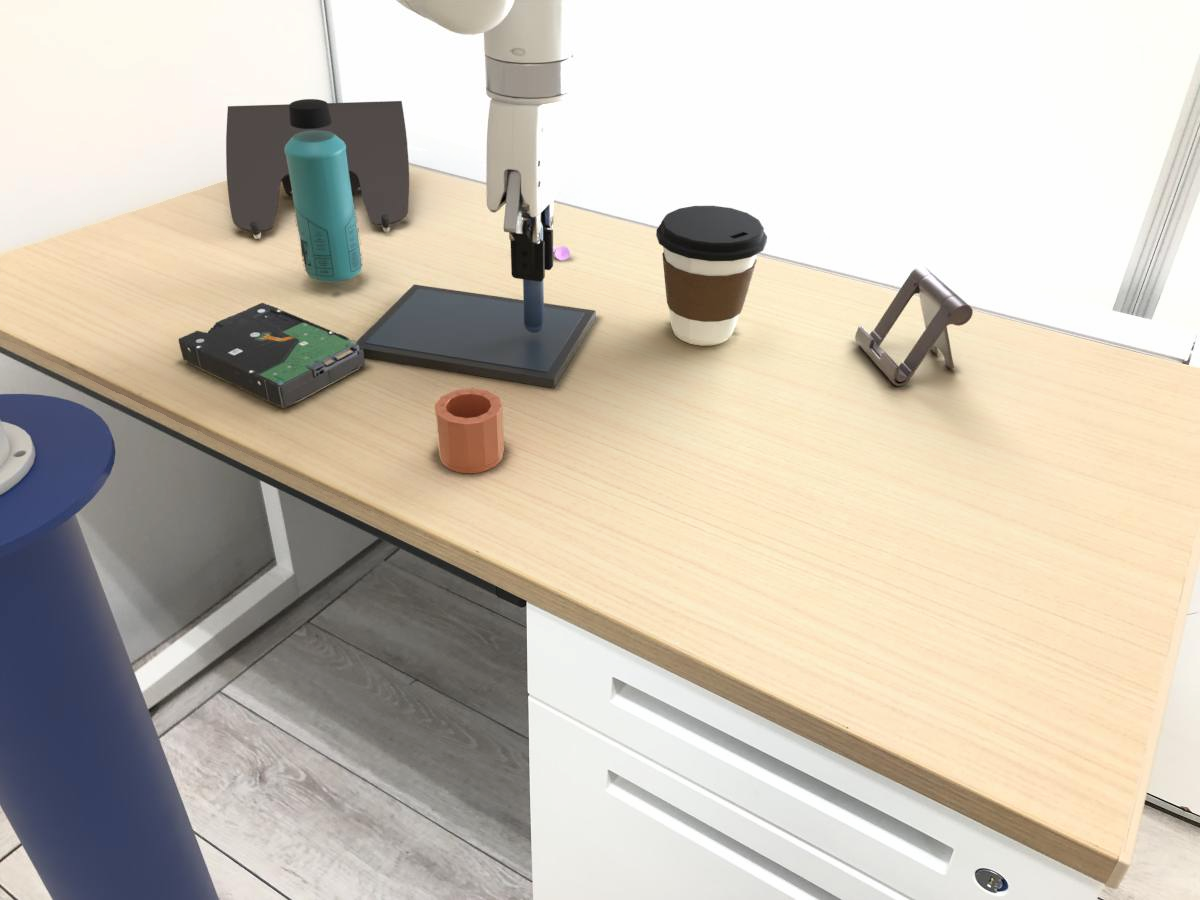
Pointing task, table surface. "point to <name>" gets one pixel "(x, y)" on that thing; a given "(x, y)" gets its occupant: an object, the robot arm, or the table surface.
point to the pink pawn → (561, 252)
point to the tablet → (477, 335)
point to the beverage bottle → (322, 195)
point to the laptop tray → (360, 125)
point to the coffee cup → (708, 269)
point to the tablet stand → (937, 314)
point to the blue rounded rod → (533, 301)
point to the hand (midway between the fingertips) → (532, 271)
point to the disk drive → (272, 354)
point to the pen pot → (470, 430)
